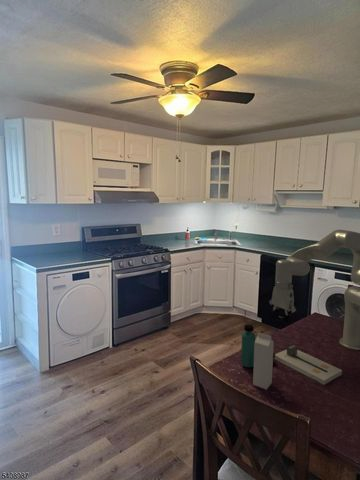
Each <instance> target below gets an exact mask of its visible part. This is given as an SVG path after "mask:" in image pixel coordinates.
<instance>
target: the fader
mask: <svg viewBox="0 0 360 480" xmlns="http://www.w3.org/2000/svg"><path fill="white" fill-rule="evenodd" d="M286 350H287V354H288V355H290V356H294V355H296V354H297V350H298V347H297V346H296V345H295V344H294V345H293V344H291V345H288V346H286Z"/></svg>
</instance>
